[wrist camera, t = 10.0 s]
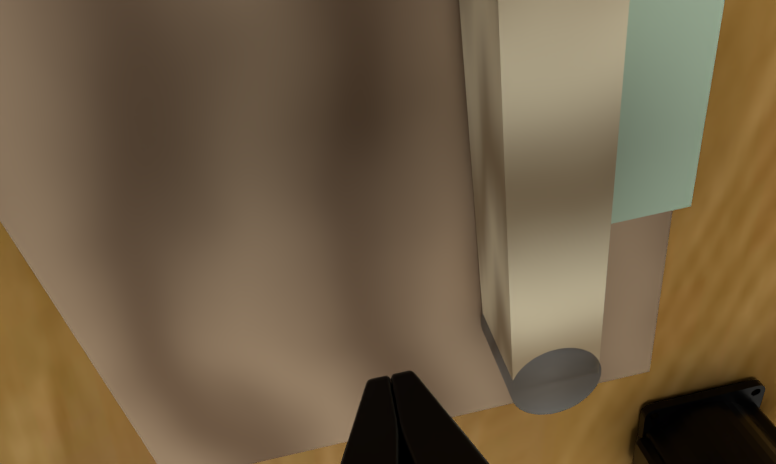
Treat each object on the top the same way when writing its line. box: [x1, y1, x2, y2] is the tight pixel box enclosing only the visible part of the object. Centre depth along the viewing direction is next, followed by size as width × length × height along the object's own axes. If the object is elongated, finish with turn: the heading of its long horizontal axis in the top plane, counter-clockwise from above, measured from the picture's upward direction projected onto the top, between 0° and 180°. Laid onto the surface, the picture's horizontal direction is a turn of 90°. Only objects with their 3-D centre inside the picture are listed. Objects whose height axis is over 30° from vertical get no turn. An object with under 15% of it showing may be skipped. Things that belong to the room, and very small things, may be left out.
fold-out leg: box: [459, 0, 630, 414], centre depth 17 cm, size 17×3×4 cm, turn 8°
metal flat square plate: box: [0, 0, 673, 464], centre depth 20 cm, size 22×21×2 cm
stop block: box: [611, 0, 725, 224], centre depth 16 cm, size 3×8×3 cm, turn 9°
